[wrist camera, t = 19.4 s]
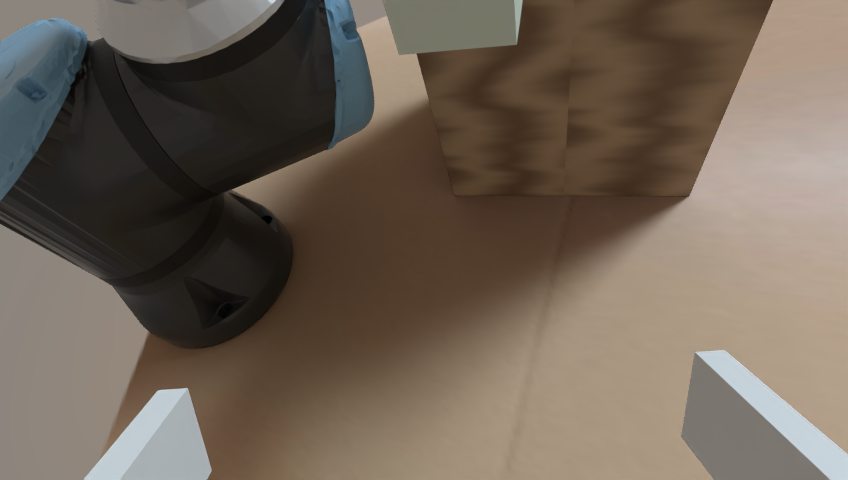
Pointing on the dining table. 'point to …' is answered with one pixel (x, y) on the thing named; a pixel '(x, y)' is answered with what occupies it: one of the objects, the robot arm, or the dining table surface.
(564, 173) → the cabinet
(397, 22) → the mint green square beam
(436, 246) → the dining table surface
